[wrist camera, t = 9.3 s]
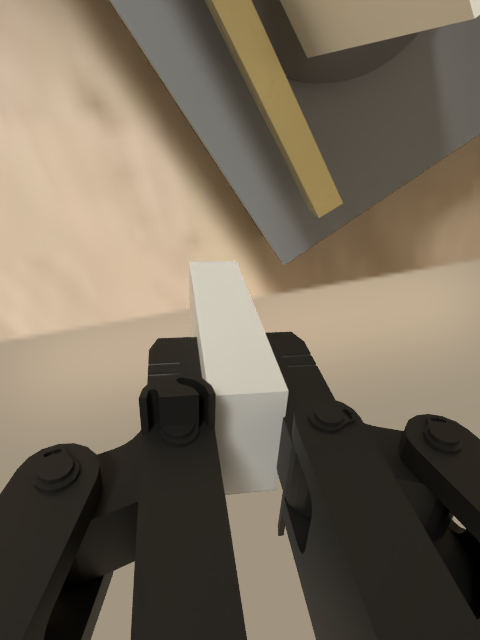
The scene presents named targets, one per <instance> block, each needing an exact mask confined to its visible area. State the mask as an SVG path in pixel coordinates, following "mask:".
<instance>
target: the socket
mask: <svg viewBox="0 0 480 640" xmlns="http://www.w3.org/2000/svg"><path fill="white" fill-rule="evenodd" d="M109 2H110V3H111V5H112V6H113V8H114V9H115V11H116V12H117V14H118V15H119V17H120V18H121V20H122V21H123V23H124V24H125V26H126V27H127V29H128V30H129V32H130V34H131V35H132V37H133V38H134V40H135V41H136V43H137V44H138V46H139V47H140V49H141V50H142V52H143V53H144V55H145V56H146V58H147V59H148V61H149V62H150V64H151V66H152V67H153V69H154V70H155V72H156V73H157V75H158V76H159V78H160V79H161V81H162V82H163V84H164V85H165V87H166V88H167V90H168V91H169V93H170V95H171V96H172V98H173V99H174V101H175V102H176V104H177V105H178V107H179V108H180V110H181V111H182V113H183V114H184V116H185V117H186V119H187V120H188V122H189V123H190V125H191V127H192V128H193V130H194V131H195V133H196V134H197V136H198V137H199V139H200V140H201V142H202V143H203V145H204V146H205V148H206V149H207V151H208V152H209V154H210V155H211V157H212V159H213V160H214V162H215V163H216V165H217V166H218V168H219V169H220V171H221V172H222V174H223V175H224V177H225V178H226V180H227V181H228V183H229V184H230V186H231V187H232V189H233V191H234V192H235V194H236V195H237V197H238V198H239V200H240V201H241V203H242V204H243V206H244V207H245V209H246V210H247V212H248V213H249V215H250V216H251V218H252V220H253V221H254V223H255V224H256V226H257V227H258V229H259V230H260V232H261V233H262V235H263V236H264V238H265V239H266V241H267V242H268V244H269V245H270V247H271V248H272V249H273V251H274V252H275V254H276V255H277V257H278V258H279V260H280V261H281V262H282V264H283V265H285V264H287V263H288V262H290V261H291V260H293V259H294V258H296V257H297V256H299V255H300V254H302V253H303V252H305V251H306V250H308V249H309V248H311V247H312V246H314V245H315V244H317V243H318V242H320V241H321V240H323V239H324V238H326V237H327V236H329V235H330V234H332V233H333V232H334V231H336V230H337V229H339V228H340V227H342V226H343V225H345V224H346V223H348V222H349V221H351V220H352V219H354V218H355V217H357V216H358V215H360V214H361V213H363V212H364V211H366V210H367V209H369V208H370V207H372V206H373V205H375V204H376V203H378V202H379V201H381V200H382V199H384V198H385V197H387V196H388V195H390V194H391V193H392V192H394V191H395V190H397V189H398V188H400V187H401V186H403V185H404V184H406V183H407V182H409V181H410V180H412V179H413V178H415V177H416V176H418V175H419V174H421V173H422V172H424V171H425V170H427V169H428V168H430V167H431V166H433V165H434V164H436V163H437V162H439V161H440V160H442V159H443V158H445V157H446V156H448V155H449V154H450V153H452V152H453V151H455V150H456V149H458V148H459V147H461V146H462V145H464V144H465V143H467V142H468V141H470V140H471V139H473V138H474V137H476V136H477V135H479V134H480V15H479V16H478V17H476V18H475V19H471V20H467V21H463V22H459V23H454V24H450V25H446V26H442V27H437V28H433V29H429V30H425V31H420V32H419V33H418V35H417V36H416V37H415V38H414V39H413V40H412V41H411V42H410V43H409V44H408V45H407V46H406V47H405V49H404V50H402V51H401V52H400V53H399V54H397V55H396V56H395V57H394V58H393V59H391V60H390V61H389V62H387V63H385V64H384V65H382V66H381V67H379V68H378V69H376V70H374V71H372V72H369V73H367V74H365V75H363V76H360V77H357V78H354V79H350V80H347V81H340V82H333V83H306V82H300V81H294V80H291V79H288V78H287V80H288V82H289V85H290V87H291V89H292V91H293V93H294V96H295V98H296V100H297V102H298V104H299V107H300V109H301V111H302V113H303V116H304V118H305V120H306V122H307V124H308V127H309V129H310V131H311V133H312V135H313V138H314V140H315V142H316V144H317V147H318V149H319V151H320V153H321V155H322V158H323V160H324V162H325V164H326V166H327V169H328V171H329V173H330V175H331V178H332V180H333V182H334V184H335V186H336V189H337V191H338V193H339V195H340V198H341V200H342V202H343V204H341V205H339V206H338V207H336V208H335V209H333V210H331V211H330V212H328V213H327V214H325V215H323V216H322V217H320V218H318V217H317V216H316V215H315V214H313V213H312V212H311V211H310V210H309V208H308V206H307V204H306V202H305V200H304V198H303V196H302V194H301V192H300V190H299V188H298V186H297V184H296V182H295V180H294V178H293V176H292V174H291V172H290V170H289V168H288V166H287V164H286V162H285V160H284V158H283V156H282V154H281V152H280V150H279V148H278V146H277V144H276V142H275V140H274V138H273V136H272V134H271V132H270V130H269V128H268V126H267V124H266V122H265V120H264V118H263V116H262V114H261V112H260V110H259V108H258V106H257V104H256V102H255V100H254V98H253V96H252V94H251V92H250V90H249V88H248V86H247V84H246V82H245V80H244V78H243V76H242V74H241V72H240V70H239V68H238V66H237V64H236V62H235V60H234V58H233V56H232V54H231V52H230V50H229V48H228V46H227V44H226V42H225V40H224V38H223V36H222V34H221V32H220V30H219V28H218V26H217V24H216V22H215V20H214V18H213V16H212V14H211V12H210V10H209V8H208V6H207V4H206V2H205V0H109Z"/></svg>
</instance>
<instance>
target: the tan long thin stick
mask: <svg viewBox="0 0 480 640" xmlns="http://www.w3.org/2000/svg"><path fill="white" fill-rule="evenodd" d="M205 2H206V4H207V6H208V8H209V10H210V12H211V14H212V16H213V18H214V20H215V22H216V24H217V26H218V28H219V30H220V32H221V34H222V36H223V38H224V40H225V42H226V44H227V46H228V48H229V50H230V52H231V54H232V56H233V58H234V60H235V62H236V64H237V66H238V68H239V70H240V72H241V74H242V76H243V78H244V80H245V82H246V84H247V86H248V88H249V90H250V92H251V94H252V96H253V98H254V100H255V102H256V104H257V106H258V108H259V110H260V112H261V114H262V116H263V118H264V120H265V122H266V124H267V126H268V128H269V130H270V132H271V134H272V136H273V138H274V140H275V142H276V144H277V146H278V148H279V150H280V152H281V154H282V156H283V158H284V160H285V162H286V164H287V166H288V168H289V170H290V172H291V174H292V176H293V178H294V180H295V182H296V184H297V186H298V188H299V190H300V192H301V194H302V196H303V198H304V200H305V202H306V204H307V206H308V208H309V210H310V211H311V212H312V213H313V214H315V215H316V216H317V217H318V218H320V217H322V216H323V215H325V214H327V213H328V212H330V211H331V210H333V209H335V208H336V207H338V206H339V205H341V204H343V202H342V200H341V198H340V195H339V193H338V191H337V189H336V186H335V184H334V182H333V180H332V178H331V175H330V173H329V171H328V169H327V166H326V164H325V162H324V160H323V158H322V155H321V153H320V151H319V149H318V147H317V144H316V142H315V140H314V138H313V135H312V133H311V131H310V129H309V127H308V124H307V122H306V120H305V118H304V116H303V113H302V111H301V109H300V107H299V104H298V102H297V100H296V98H295V96H294V93H293V91H292V89H291V87H290V85H289V82H288V80H287V78H286V76H285V73H284V71H283V69H282V67H281V65H280V62H279V60H278V58H277V56H276V54H275V51H274V49H273V47H272V45H271V42H270V40H269V38H268V36H267V34H266V31H265V29H264V27H263V25H262V22H261V20H260V18H259V16H258V14H257V11H256V9H255V7H254V5H253V3H252V0H205Z"/></svg>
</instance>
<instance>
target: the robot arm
mask: <svg viewBox="0 0 480 640" xmlns="http://www.w3.org/2000/svg"><path fill="white" fill-rule="evenodd" d="M189 278H190V337H183V338H159V339H157V340H156V342H155V343H154V344H153V346H152V347H151V348H150V350H149V366H148V384H147V385H146V386H145V387H144V388H143V389H142V392H141V394H140V397H139V406H140V418H141V431H140V432H139V433H138V434H137V435H136V436H135V437H134V438H133V439H132V440H130V441H129V442H128V443H126V444H124V445H122V446H120V447H118V448H115V449H113V450H110V451H107V452H104V453H101V454H98V455H96V454H95V453H94V452H93V451H91V450H90V449H89V448H88V447H86V446H82V445H78V444H74V443H72V444H57V445H54V446H51V447H48V448H45V449H42V450H40V451H39V452H37V453H35V454H34V455H32V456H30V457H29V458H28V459H27V460H26V461H25V462H24V463H23V464H22V465H21V466H20V467H19V468H18V469H17V470H16V472H15V473H14V475H13V476H12V478H11V479H10V481H9V482H8V484H7V485H6V487H5V488H4V489H3V491H2V492H1V494H0V640H91V637H92V634H93V631H94V628H95V625H96V622H97V619H98V616H99V613H100V610H101V607H102V604H103V601H104V599H105V596H106V593H107V589H108V586H109V584H110V581H111V578H112V575H113V571H114V570H116V569H118V568H120V567H123V566H125V565H127V564H129V563H131V562H134V561H135V572H134V589H133V607H132V626H131V640H247V636H246V631H245V624H244V617H243V611H242V604H241V597H240V591H239V584H238V577H237V571H236V564H235V558H234V552H233V545H232V538H231V531H230V525H229V518H228V512H227V506H226V499H225V495H227V494H228V495H229V494H239V493H248V492H258V491H268V490H275V489H276V483H277V475H279V479H280V482H281V485H282V489H283V494H282V501H281V508H280V516H279V523H278V536H281V535H284V529H285V526H286V530H287V534H288V537H289V541H290V545H291V548H292V552H293V556H294V559H295V563H296V567H297V571H298V574H299V578H300V581H301V585H302V589H303V593H304V596H305V600H306V604H307V608H308V611H309V615H310V619H311V622H312V626H313V630H314V633H315V637H316V640H480V439H479V438H478V437H476V436H475V435H474V434H472V433H471V432H470V431H469V430H468V429H466V428H465V427H463V426H462V425H460V424H459V423H457V422H455V421H453V420H450V419H447V418H445V417H443V416H437V415H430V414H425V415H417V416H415V417H413V418H411V419H410V420H408V423H407V425H406V427H405V430H404V431H399V430H393V429H387V428H381V427H376V426H371V425H368V424H365V423H363V422H362V420H361V418H360V417H359V416H358V414H357V413H356V412H355V411H354V410H353V409H352V408H350V407H349V406H347V405H345V404H344V403H342V402H339V401H336V400H335V399H334V397H333V395H332V393H331V392H330V389H329V387H328V386H327V384H326V382H325V380H324V378H323V376H322V374H321V372H320V370H319V369H318V367H317V366H316V363H315V361H314V359H313V357H312V356H311V355H310V352H309V350H308V348H307V346H306V344H305V342H304V341H303V340H301V339H300V338H299V337H297V336H296V335H295V334H293V333H292V332H275V333H265V332H264V329H263V326H262V324H261V321H260V319H259V316H258V314H257V311H256V309H255V306H254V304H253V301H252V299H251V296H250V294H249V291H248V289H247V286H246V284H245V281H244V279H243V276H242V274H241V271H240V269H239V266H238V264H237V261H209V262H189ZM453 516H455V517H456V518H457V519H458V520H459V521H460V522H461V524H462V525H464V527H465V528H466V529H463V528H461V527H459V526H458V525H457V524H456V523H455V522H454V521H453V520H452V518H453Z"/></svg>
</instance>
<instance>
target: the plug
mask: <svg viewBox="0 0 480 640" xmlns="http://www.w3.org/2000/svg"><path fill="white" fill-rule="evenodd" d="M252 3H253V5H254V7H255V9H256V11H257V14H258V16H259V18H260V20H261V22H262V25H263V27H264V29H265V31H266V34H267V36H268V38H269V40H270V42H271V45H272V47H273V49H274V51H275V54H276V56H277V58H278V60H279V62H280V65H281V67H282V69H283V71H284V73H285V76H286V78H288V79H291V80H294V81H300V82H306V83H333V82H340V81H347V80H350V79H354V78H357V77H360V76H363V75H365V74H367V73H369V72H372V71H374V70H376V69H378V68H379V67H381V66H382V65H384V64H385V63H387V62H389V61H390V60H391V59H393V58H394V57H395V56H396V55H397V54H399V53H400V52H401V51H402V50H404V49H405V47H406V46H407V45H408V44H409V43H410V42H411V41H412V40H413V39H414V38H415V37H416V36H417V35H418V33H419V32H420V31H425V30H429V29H433V28H437V27H442V26H446V25H450V24H454V23H459V22H463V21H467V20H471V19H475V18H476V17H478V16H479V15H480V0H252Z"/></svg>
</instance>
